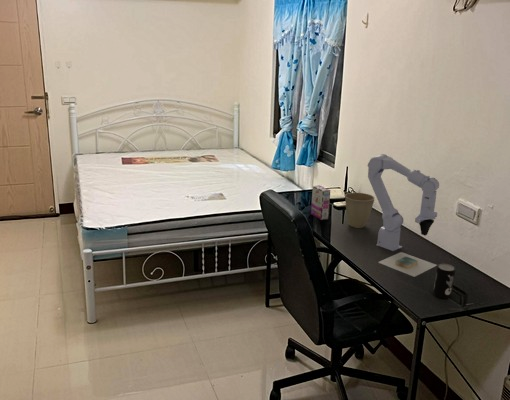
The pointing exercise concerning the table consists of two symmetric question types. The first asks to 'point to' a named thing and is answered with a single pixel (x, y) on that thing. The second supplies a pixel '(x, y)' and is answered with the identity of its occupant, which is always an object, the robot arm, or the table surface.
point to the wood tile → (406, 262)
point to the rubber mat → (412, 271)
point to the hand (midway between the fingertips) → (424, 234)
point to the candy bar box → (320, 202)
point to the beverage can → (444, 281)
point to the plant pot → (358, 208)
